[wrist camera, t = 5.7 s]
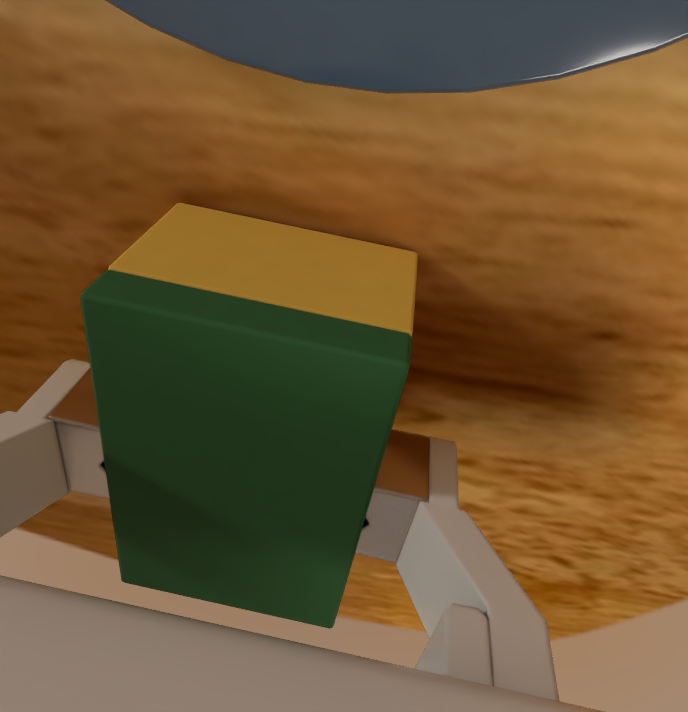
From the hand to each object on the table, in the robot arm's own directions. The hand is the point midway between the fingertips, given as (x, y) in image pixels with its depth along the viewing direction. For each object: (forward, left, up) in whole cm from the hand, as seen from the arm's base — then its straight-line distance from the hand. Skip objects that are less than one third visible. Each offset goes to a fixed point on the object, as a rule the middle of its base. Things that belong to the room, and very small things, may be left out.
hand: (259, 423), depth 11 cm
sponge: (0, 0, -2) cm, 2 cm away
